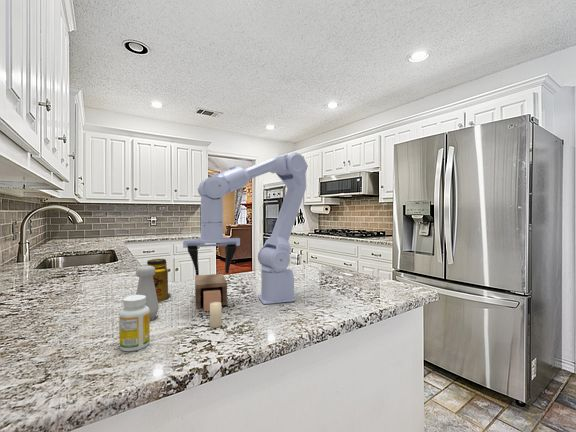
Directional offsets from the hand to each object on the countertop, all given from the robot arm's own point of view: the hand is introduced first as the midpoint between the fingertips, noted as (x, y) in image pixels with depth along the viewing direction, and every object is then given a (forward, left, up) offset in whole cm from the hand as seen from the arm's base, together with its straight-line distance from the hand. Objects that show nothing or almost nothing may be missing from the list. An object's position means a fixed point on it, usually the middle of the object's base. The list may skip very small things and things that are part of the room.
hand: (212, 273), depth 78 cm
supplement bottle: (+16, +16, -10) cm, 25 cm away
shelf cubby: (0, -9, -10) cm, 13 cm away
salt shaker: (+16, +1, -10) cm, 19 cm away
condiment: (+15, -16, -10) cm, 24 cm away
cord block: (0, +4, -10) cm, 11 cm away
